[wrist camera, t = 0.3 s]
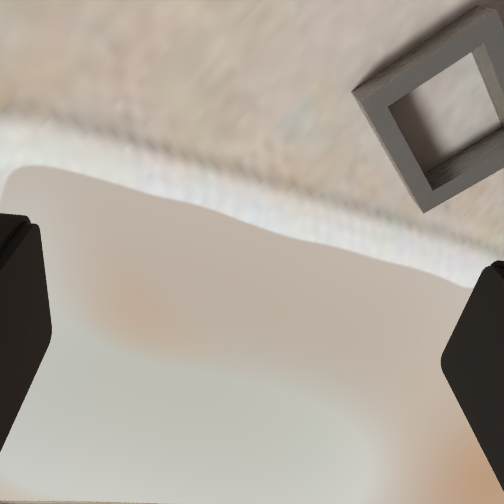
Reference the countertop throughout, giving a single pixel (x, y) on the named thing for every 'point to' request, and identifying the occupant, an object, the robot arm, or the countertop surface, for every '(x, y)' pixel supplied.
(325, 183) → the countertop surface
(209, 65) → the countertop surface
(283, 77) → the countertop surface
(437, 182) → the frame
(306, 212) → the countertop surface
